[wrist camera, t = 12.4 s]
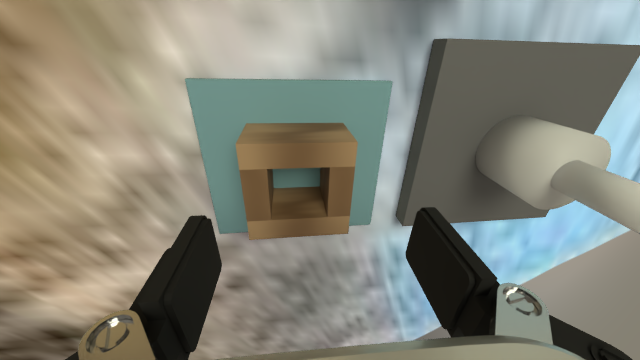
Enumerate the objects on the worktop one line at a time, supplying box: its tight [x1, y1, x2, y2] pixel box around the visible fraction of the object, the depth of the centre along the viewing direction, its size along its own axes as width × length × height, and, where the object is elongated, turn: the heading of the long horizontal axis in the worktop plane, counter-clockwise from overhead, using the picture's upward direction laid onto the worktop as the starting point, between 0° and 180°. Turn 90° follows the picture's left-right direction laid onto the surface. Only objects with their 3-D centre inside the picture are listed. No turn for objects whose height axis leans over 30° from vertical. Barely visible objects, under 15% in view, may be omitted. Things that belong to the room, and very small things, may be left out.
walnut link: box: [236, 123, 358, 240], centre depth 16 cm, size 7×7×4 cm
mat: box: [185, 78, 392, 234], centre depth 18 cm, size 13×12×1 cm
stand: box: [396, 39, 640, 234], centre depth 15 cm, size 14×14×11 cm
